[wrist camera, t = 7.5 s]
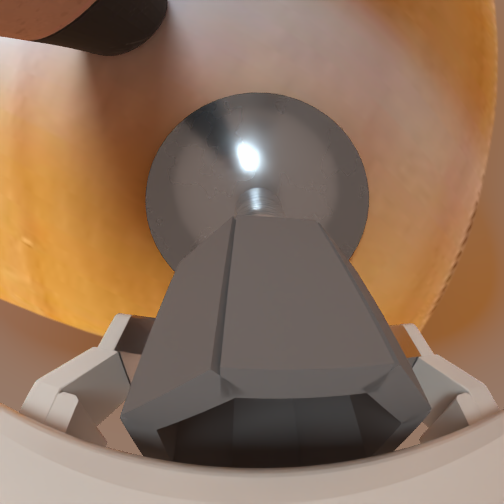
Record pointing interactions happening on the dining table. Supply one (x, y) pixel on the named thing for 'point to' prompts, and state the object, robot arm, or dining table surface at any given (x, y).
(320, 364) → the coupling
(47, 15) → the travel mug
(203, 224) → the grey metal round base
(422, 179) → the dining table surface
